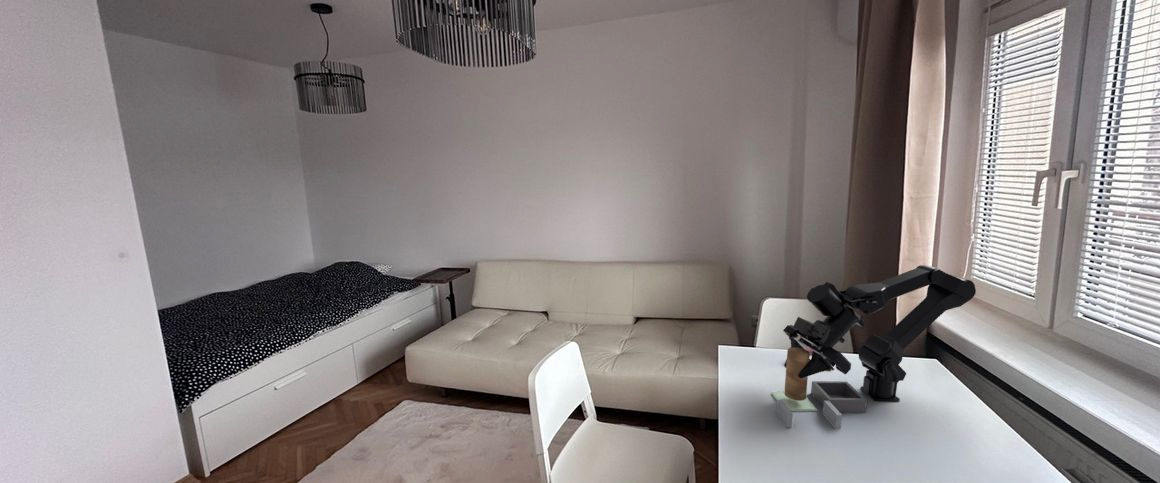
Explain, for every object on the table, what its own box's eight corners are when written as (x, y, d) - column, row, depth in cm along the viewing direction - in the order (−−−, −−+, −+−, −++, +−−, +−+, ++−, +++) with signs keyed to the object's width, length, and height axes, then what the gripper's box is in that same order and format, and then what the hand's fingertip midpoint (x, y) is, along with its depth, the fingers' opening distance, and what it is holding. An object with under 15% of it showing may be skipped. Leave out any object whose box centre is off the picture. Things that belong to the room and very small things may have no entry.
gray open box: (845, 393, 116) (846, 381, 116) (865, 412, 108) (866, 400, 107) (810, 393, 117) (811, 381, 116) (827, 412, 108) (829, 399, 107)
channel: (827, 413, 108) (829, 400, 107) (840, 428, 102) (842, 414, 101) (776, 413, 108) (777, 400, 108) (786, 427, 102) (787, 414, 102)
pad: (802, 394, 117) (802, 392, 116) (816, 411, 109) (816, 409, 109) (771, 393, 117) (771, 392, 117) (783, 410, 109) (783, 409, 109)
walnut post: (806, 392, 113) (809, 349, 111) (806, 402, 108) (809, 357, 106) (784, 388, 115) (787, 346, 113) (784, 397, 111) (787, 353, 108)
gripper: (791, 295, 117) (751, 338, 117) (844, 321, 99) (797, 371, 99) (815, 321, 120) (776, 362, 120) (871, 349, 102) (825, 398, 102)
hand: (792, 372), depth 110 cm, fingers closed on walnut post, 5 cm apart
